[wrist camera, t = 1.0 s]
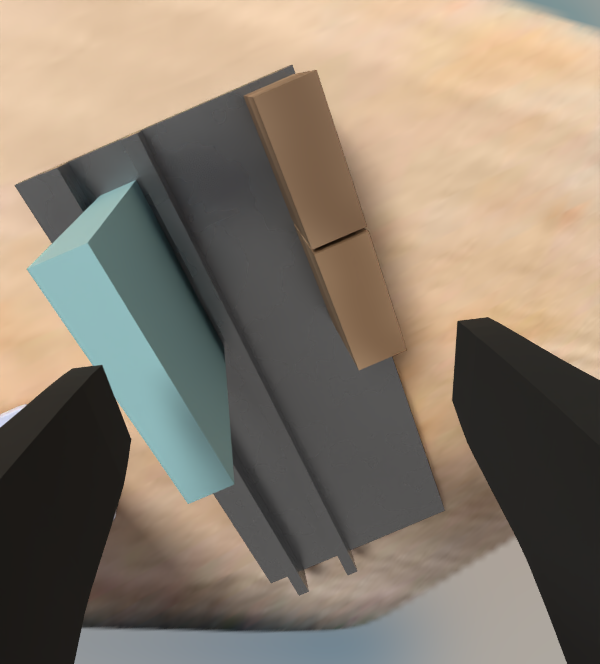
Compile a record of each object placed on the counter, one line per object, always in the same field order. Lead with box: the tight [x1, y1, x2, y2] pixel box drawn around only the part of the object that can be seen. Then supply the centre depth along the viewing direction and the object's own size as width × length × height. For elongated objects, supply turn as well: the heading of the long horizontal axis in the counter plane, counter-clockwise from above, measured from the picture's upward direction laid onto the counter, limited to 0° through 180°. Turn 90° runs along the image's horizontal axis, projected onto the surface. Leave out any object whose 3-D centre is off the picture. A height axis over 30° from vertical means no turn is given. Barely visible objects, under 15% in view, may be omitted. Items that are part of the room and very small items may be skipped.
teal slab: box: [27, 180, 234, 504], centre depth 17 cm, size 2×8×9 cm, turn 21°
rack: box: [15, 65, 445, 595], centre depth 24 cm, size 11×25×2 cm, turn 21°
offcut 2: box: [294, 224, 407, 370], centre depth 20 cm, size 2×5×4 cm, turn 21°
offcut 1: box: [243, 70, 367, 250], centre depth 18 cm, size 2×5×4 cm, turn 21°
